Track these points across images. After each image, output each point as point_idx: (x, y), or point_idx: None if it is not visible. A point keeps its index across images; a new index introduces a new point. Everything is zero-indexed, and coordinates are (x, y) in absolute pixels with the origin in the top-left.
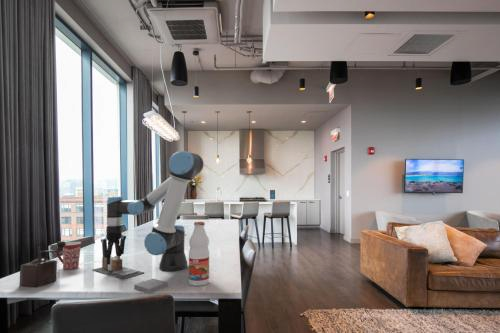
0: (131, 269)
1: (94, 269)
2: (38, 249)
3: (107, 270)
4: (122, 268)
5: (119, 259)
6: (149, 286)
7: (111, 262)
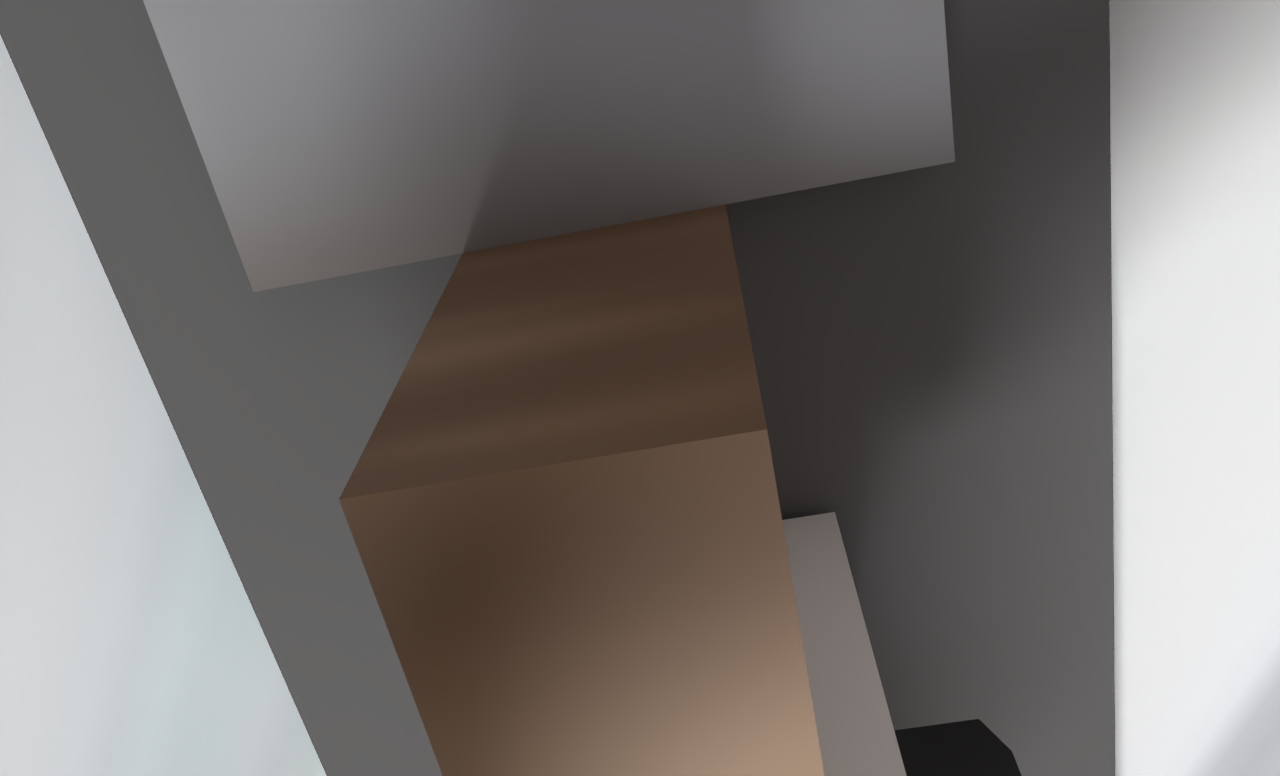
0: (78, 147)
1: None
2: None
3: None
4: None
5: (514, 596)
6: None
7: (850, 754)
